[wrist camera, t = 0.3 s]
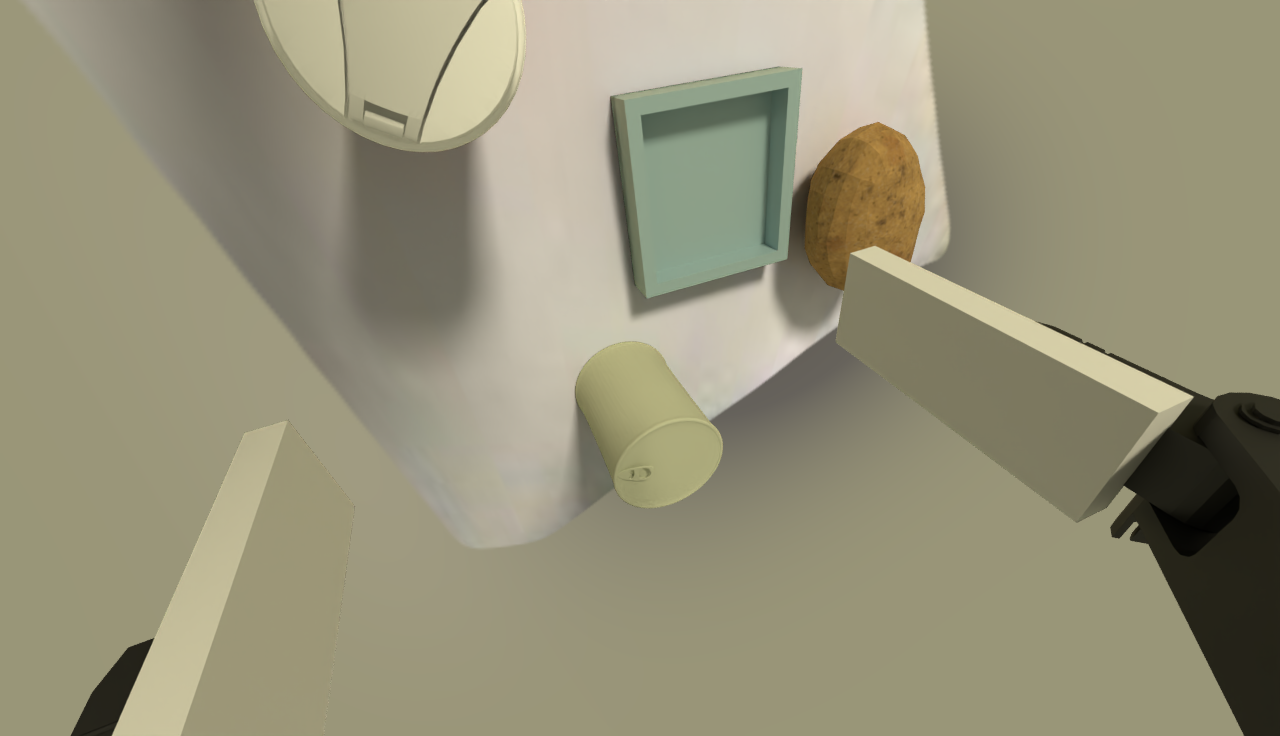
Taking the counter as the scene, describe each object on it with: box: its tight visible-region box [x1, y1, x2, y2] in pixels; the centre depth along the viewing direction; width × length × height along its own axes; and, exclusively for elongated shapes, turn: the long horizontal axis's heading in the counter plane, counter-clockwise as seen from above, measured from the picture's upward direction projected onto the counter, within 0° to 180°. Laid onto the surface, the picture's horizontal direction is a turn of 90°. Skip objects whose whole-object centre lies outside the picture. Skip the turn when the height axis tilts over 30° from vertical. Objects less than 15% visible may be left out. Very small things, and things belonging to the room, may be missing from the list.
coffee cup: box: [254, 0, 526, 152], centre depth 21 cm, size 8×8×15 cm
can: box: [575, 342, 723, 508], centre depth 41 cm, size 9×9×12 cm
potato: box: [805, 122, 925, 291], centre depth 40 cm, size 10×14×8 cm
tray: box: [611, 67, 802, 298], centre depth 37 cm, size 14×13×3 cm
